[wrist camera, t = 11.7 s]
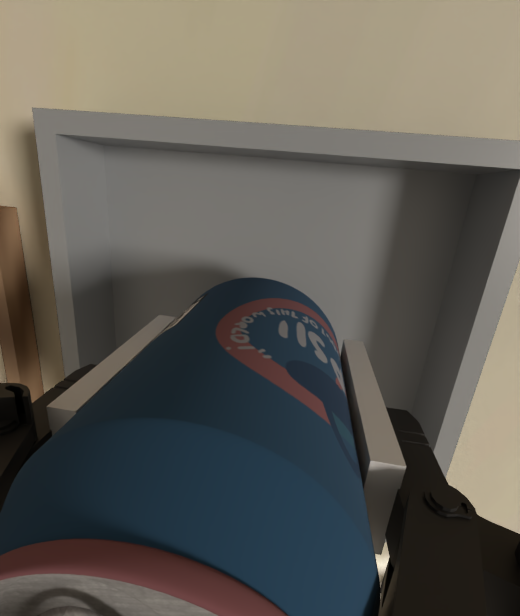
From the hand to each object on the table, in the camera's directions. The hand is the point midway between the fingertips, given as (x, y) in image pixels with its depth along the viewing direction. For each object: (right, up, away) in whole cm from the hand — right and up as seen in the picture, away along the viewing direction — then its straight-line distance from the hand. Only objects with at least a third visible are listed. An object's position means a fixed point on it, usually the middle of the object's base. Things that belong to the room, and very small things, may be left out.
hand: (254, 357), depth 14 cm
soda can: (0, +1, +2) cm, 2 cm away
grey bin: (0, +1, +3) cm, 3 cm away
